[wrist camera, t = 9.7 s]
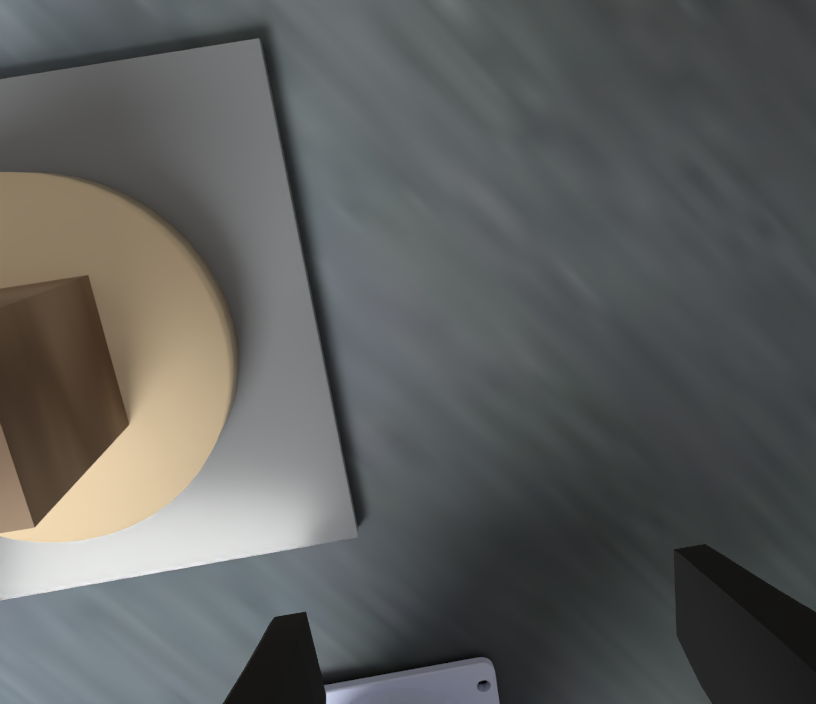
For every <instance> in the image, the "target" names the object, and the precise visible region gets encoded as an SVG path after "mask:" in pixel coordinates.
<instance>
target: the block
mask: <svg viewBox="0 0 816 704" xmlns="http://www.w3.org/2000/svg"><path fill="white" fill-rule="evenodd" d="M128 426H129V422H128V418H127V414H126V411H125V407H124V404H123V400H122V396H121V393H120V389H119V385H118V382H117V378H116V374H115V371H114V367H113V363H112V360H111V356H110V353H109V349H108V345H107V342H106V338H105V334H104V331H103V327H102V323H101V320H100V316H99V313H98V309H97V305H96V302H95V298H94V294H93V291H92V287H91V283H90V280H89V276H88V275H85V276H78V277H72V278H65V279H59V280H52V281H46V282H39V283H33V284H27V285H20V286H14V287H7V288H1V289H0V533H6V532H12V531H18V530H24V529H30V528H35V527H36V526H37V525H38V524H39V522H40V521H41V520H42V519H43V518H44V517H45V516H46V515H47V514H48V513H49V512H50V510H51V509H52V508H53V507H54V506H55V505H56V504H57V503H58V502H59V501H60V500H61V499H62V497H63V496H64V495H65V494H66V493H67V492H68V491H69V490H70V489H71V488H72V487H73V486H74V484H75V483H76V482H77V481H78V480H79V479H80V478H81V477H82V476H83V475H84V474H85V473H86V471H87V470H88V469H89V468H90V467H91V466H92V465H93V464H94V463H95V462H96V461H97V459H98V458H99V457H100V456H101V455H102V454H103V453H104V452H105V451H106V450H107V449H108V448H109V446H110V445H111V444H112V443H113V442H114V441H115V440H116V439H117V438H118V437H119V436H120V435H121V433H122V432H123V431H124V430H125V429H126V428H127V427H128Z"/></svg>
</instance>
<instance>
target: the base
mask: <svg viewBox="0 0 816 704" xmlns="http://www.w3.org/2000/svg"><path fill="white" fill-rule="evenodd" d="M85 275H88V276H89V280H90V283H91V287H92V291H93V294H94V298H95V302H96V305H97V309H98V313H99V316H100V320H101V323H102V327H103V331H104V334H105V338H106V342H107V345H108V349H109V353H110V356H111V360H112V363H113V367H114V371H115V374H116V378H117V382H118V385H119V389H120V393H121V396H122V400H123V404H124V407H125V411H126V414H127V418H128V422H129V426H128V427H127V428H126V429H125V430H124V431H123V432H122V433H121V435H120V436H119V437H118V438H117V439H116V440H115V441H114V442H113V443H112V444H111V445H110V446H109V448H108V449H107V450H106V451H105V452H104V453H103V454H102V455H101V456H100V457H99V458H98V459H97V461H96V462H95V463H94V464H93V465H92V466H91V467H90V468H89V469H88V470H87V471H86V473H85V474H84V475H83V476H82V477H81V478H80V479H79V480H78V481H77V482H76V483H75V484H74V486H73V487H72V488H71V489H70V490H69V491H68V492H67V493H66V494H65V495H64V496H63V497H62V499H61V500H60V501H59V502H58V503H57V504H56V505H55V506H54V507H53V508H52V509H51V510H50V512H49V513H48V514H47V515H46V516H45V517H44V518H43V519H42V520H41V521H40V522H39V524H38V525H37V526H36V527H35V528H30V529H24V530H18V531H12V532H6V533H0V600H4V599H10V598H16V597H21V596H27V595H33V594H39V593H44V592H50V591H56V590H61V589H67V588H73V587H78V586H84V585H90V584H95V583H101V582H107V581H112V580H118V579H124V578H129V577H135V576H141V575H147V574H152V573H158V572H164V571H169V570H175V569H181V568H186V567H192V566H198V565H203V564H209V563H215V562H220V561H226V560H232V559H237V558H243V557H249V556H254V555H260V554H266V553H272V552H277V551H283V550H289V549H294V548H300V547H306V546H311V545H317V544H323V543H328V542H334V541H340V540H345V539H351V538H357V537H358V524H357V519H356V514H355V509H354V504H353V499H352V494H351V489H350V484H349V479H348V474H347V469H346V464H345V459H344V454H343V449H342V444H341V439H340V433H339V428H338V423H337V418H336V413H335V408H334V403H333V398H332V393H331V388H330V383H329V378H328V373H327V368H326V363H325V358H324V353H323V347H322V342H321V337H320V332H319V327H318V322H317V317H316V312H315V307H314V302H313V297H312V292H311V287H310V282H309V277H308V272H307V267H306V262H305V256H304V251H303V246H302V241H301V236H300V231H299V226H298V221H297V216H296V211H295V206H294V201H293V196H292V191H291V186H290V181H289V176H288V170H287V165H286V160H285V155H284V150H283V145H282V140H281V135H280V130H279V125H278V120H277V115H276V110H275V105H274V100H273V95H272V90H271V84H270V79H269V74H268V69H267V64H266V59H265V54H264V49H263V44H262V41H261V40H260V39H259V38H258V39H251V40H245V41H239V42H232V43H226V44H220V45H213V46H207V47H201V48H194V49H188V50H182V51H175V52H169V53H163V54H156V55H150V56H144V57H137V58H131V59H124V60H118V61H112V62H106V63H99V64H93V65H86V66H80V67H74V68H67V69H61V70H55V71H48V72H42V73H36V74H29V75H23V76H17V77H10V78H4V79H0V289H1V288H7V287H14V286H20V285H27V284H33V283H39V282H46V281H52V280H59V279H65V278H72V277H78V276H85Z"/></svg>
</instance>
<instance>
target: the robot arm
mask: <svg viewBox="0 0 816 704" xmlns="http://www.w3.org/2000/svg"><path fill="white" fill-rule="evenodd" d="M674 566H675V597H676V628H677V637H678V639H679V641H680V643H681V645H682V647H683V650H684V652H685V654H686V656H687V658H688V660H689V662H690V664H691V666H692V668H693V670H694V672H695V674H696V676H697V678H698V680H699V682H700V684H701V686H702V688H703V690H704V691H705V693H706V694H707V696H708V698H709V699H710V701H711V702H712V704H816V612H815V611H813V610H811V609H809V608H808V607H806V606H804V605H803V604H801V603H799V602H797V601H796V600H794V599H792V598H791V597H789V596H788V595H786V594H784V593H783V592H781V591H779V590H778V589H776V588H774V587H773V586H771V585H770V584H768V583H766V582H765V581H763V580H762V579H760V578H758V577H757V576H755V575H754V574H752V573H750V572H749V571H747V570H746V569H744V568H743V567H741V566H739V565H738V564H736V563H735V562H733V561H732V560H730V559H728V558H727V557H725V556H724V555H722V554H720V553H719V552H717V551H716V550H714V549H712V548H711V547H709V546H707V545H706V544H703V545H697V546H692V547H686V548H680V549H674ZM482 680H487V682H486V683H485V684H478V683H479V682H480V681H482ZM223 704H500V703H499V696H498V689H497V682H496V675H495V670H494V666H493V664H492V662H491V661H490V660H489V659H487V658H484V657H478V658H472V659H467V660H461V661H456V662H450V663H445V664H439V665H434V666H428V667H423V668H417V669H412V670H406V671H401V672H395V673H389V674H384V675H378V676H373V677H367V678H362V679H356V680H351V681H345V682H340V683H334V684H329V685H324V684H323V680H322V675H321V671H320V667H319V663H318V659H317V655H316V651H315V647H314V643H313V639H312V635H311V631H310V627H309V622H308V618H307V614H306V612H301V613H295V614H290V615H284V616H278V617H274V619H273V620H272V621H271V622H270V624H269V626H268V628H267V630H266V631H265V633H264V635H263V637H262V639H261V640H260V642H259V644H258V646H257V648H256V649H255V651H254V653H253V655H252V656H251V658H250V660H249V661H248V663H247V665H246V667H245V668H244V670H243V672H242V673H241V675H240V677H239V678H238V680H237V682H236V683H235V685H234V686H233V688H232V690H231V691H230V693H229V694H228V696H227V698H226V699H225V701H224V703H223Z"/></svg>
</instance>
